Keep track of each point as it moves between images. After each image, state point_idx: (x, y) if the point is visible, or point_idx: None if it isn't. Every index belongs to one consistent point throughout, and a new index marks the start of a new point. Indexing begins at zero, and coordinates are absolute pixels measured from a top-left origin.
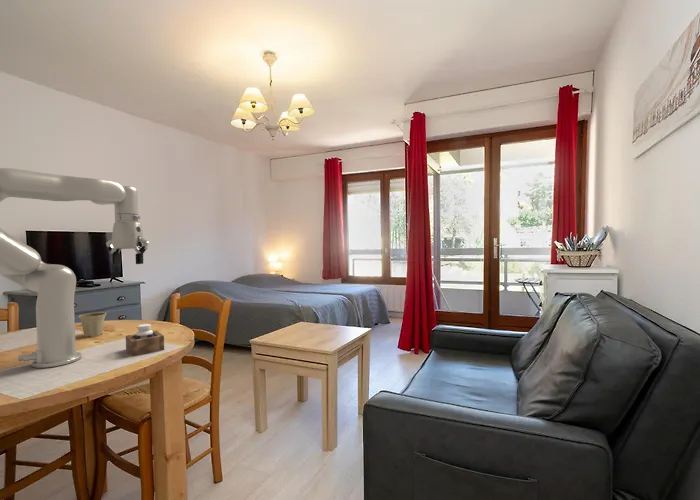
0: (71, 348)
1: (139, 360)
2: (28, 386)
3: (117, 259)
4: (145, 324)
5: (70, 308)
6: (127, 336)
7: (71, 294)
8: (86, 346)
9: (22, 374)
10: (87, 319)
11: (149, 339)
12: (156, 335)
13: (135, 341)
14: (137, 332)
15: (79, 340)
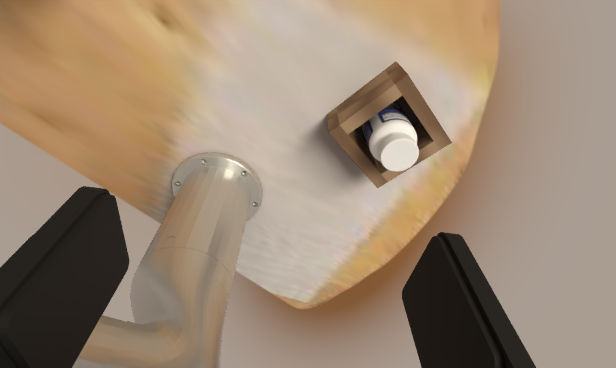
0: (247, 209)
1: (401, 193)
2: (279, 277)
3: (92, 277)
4: (399, 147)
5: (228, 291)
6: (340, 142)
7: (220, 332)
8: (176, 73)
9: None
10: None
11: (415, 163)
12: (423, 125)
13: (384, 182)
14: (377, 157)
15: None
